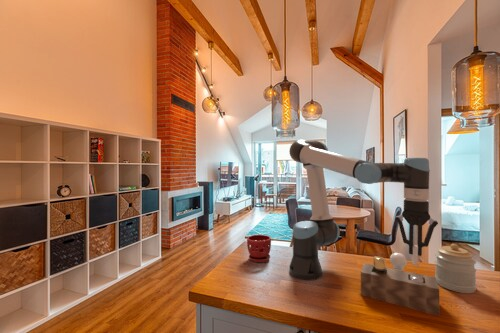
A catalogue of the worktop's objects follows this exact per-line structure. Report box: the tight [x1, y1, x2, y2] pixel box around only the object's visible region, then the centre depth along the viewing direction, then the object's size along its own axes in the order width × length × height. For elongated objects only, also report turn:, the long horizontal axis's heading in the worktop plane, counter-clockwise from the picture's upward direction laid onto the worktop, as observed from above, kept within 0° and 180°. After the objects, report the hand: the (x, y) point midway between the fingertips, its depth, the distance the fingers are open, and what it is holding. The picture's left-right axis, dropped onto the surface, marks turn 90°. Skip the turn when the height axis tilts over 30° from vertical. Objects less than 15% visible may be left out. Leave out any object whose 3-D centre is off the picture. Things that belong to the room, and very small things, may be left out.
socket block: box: [360, 262, 440, 317], centre depth 89 cm, size 24×10×9 cm, turn 57°
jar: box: [434, 243, 477, 294], centre depth 98 cm, size 13×13×18 cm
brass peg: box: [372, 255, 387, 275], centre depth 92 cm, size 4×4×8 cm
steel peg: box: [410, 275, 423, 283], centre depth 85 cm, size 4×4×8 cm
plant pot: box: [246, 234, 272, 263], centre depth 127 cm, size 13×13×12 cm
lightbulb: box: [389, 252, 408, 271], centre depth 105 cm, size 6×6×11 cm
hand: (414, 263), depth 86 cm, fingers closed
